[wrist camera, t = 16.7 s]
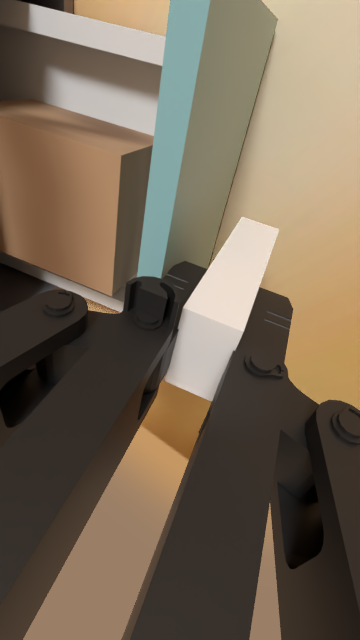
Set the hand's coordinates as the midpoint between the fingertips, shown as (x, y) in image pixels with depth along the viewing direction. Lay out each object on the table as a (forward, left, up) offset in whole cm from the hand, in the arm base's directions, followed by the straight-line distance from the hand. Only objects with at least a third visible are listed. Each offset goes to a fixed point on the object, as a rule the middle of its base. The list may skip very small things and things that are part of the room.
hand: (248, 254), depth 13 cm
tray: (+10, 0, -3) cm, 11 cm away
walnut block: (+9, 0, -2) cm, 9 cm away
